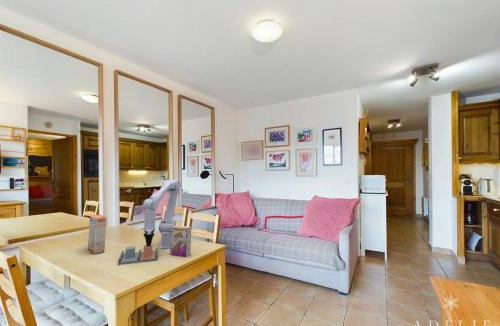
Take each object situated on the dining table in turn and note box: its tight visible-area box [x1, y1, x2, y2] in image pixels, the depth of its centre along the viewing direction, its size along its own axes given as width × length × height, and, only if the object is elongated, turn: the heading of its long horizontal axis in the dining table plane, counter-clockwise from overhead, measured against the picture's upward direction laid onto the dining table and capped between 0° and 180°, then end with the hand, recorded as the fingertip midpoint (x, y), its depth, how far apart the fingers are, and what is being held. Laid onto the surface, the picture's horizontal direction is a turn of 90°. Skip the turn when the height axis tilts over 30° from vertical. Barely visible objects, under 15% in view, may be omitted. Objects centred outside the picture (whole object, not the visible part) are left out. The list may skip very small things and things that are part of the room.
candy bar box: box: [170, 224, 192, 258], centre depth 132 cm, size 11×5×16 cm, turn 71°
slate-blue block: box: [124, 245, 136, 259], centre depth 124 cm, size 4×4×5 cm
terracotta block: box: [142, 244, 153, 257], centre depth 127 cm, size 4×4×5 cm
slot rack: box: [117, 247, 159, 266], centre depth 125 cm, size 19×14×2 cm
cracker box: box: [87, 214, 108, 255], centre depth 136 cm, size 14×6×21 cm, turn 47°
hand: (148, 243), depth 128 cm, fingers open, 7 cm apart
